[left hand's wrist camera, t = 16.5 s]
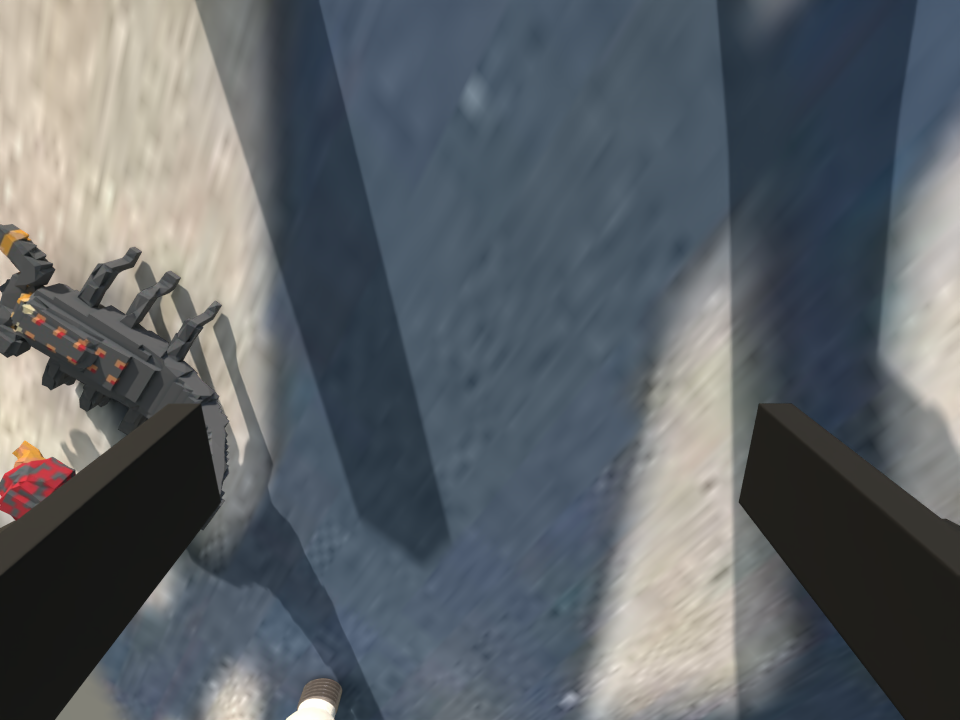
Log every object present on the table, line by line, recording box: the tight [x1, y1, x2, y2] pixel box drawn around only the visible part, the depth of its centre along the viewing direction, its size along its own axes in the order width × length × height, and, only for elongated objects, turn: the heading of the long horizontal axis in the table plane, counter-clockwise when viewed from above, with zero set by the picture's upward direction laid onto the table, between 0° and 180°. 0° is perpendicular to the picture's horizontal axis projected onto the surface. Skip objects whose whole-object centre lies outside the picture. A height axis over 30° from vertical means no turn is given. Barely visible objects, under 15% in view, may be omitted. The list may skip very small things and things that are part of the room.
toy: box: [0, 224, 229, 530], centre depth 33 cm, size 13×27×18 cm, turn 52°
